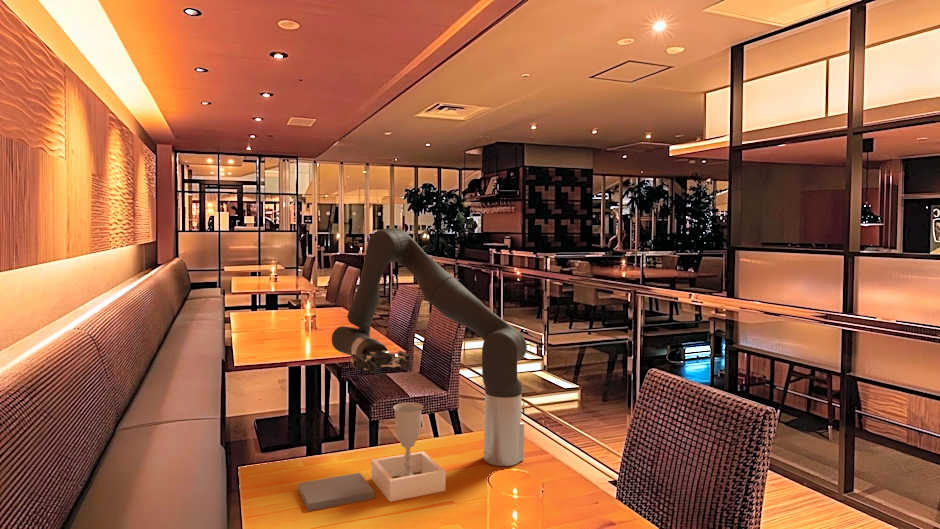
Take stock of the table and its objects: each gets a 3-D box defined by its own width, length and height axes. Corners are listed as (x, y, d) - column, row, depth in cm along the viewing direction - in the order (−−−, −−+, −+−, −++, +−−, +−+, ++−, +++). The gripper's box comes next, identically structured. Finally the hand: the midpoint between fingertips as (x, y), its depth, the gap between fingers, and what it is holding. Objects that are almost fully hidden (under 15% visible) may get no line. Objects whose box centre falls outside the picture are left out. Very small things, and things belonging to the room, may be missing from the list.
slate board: (359, 479, 141) (359, 472, 141) (374, 498, 131) (374, 491, 131) (298, 489, 135) (297, 483, 135) (308, 511, 125) (308, 503, 125)
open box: (423, 469, 147) (423, 451, 147) (445, 490, 135) (445, 471, 135) (371, 478, 141) (371, 459, 141) (389, 501, 130) (390, 481, 129)
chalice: (417, 493, 134) (418, 412, 133) (388, 489, 135) (388, 410, 134) (426, 479, 141) (427, 403, 140) (398, 476, 143) (399, 401, 141)
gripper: (343, 339, 157) (363, 354, 143) (394, 336, 164) (418, 350, 150) (342, 368, 158) (362, 385, 144) (393, 364, 165) (417, 380, 151)
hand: (391, 367), depth 147 cm, fingers open, 8 cm apart
